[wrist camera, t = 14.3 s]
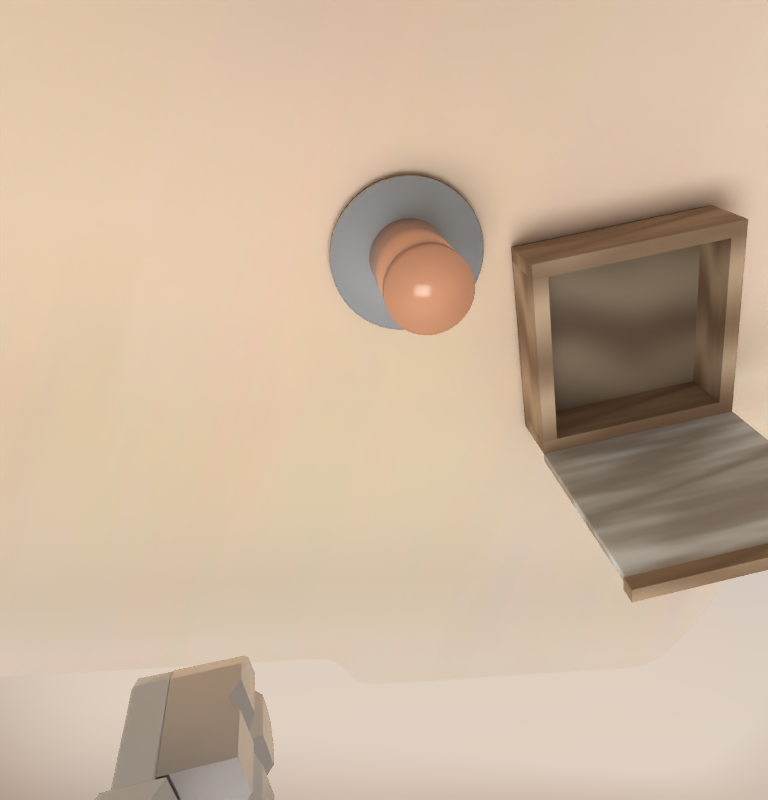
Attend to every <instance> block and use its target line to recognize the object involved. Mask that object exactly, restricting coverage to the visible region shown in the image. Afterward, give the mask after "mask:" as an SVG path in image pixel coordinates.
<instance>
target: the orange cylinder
mask: <svg viewBox="0 0 768 800" xmlns="http://www.w3.org/2000/svg"><path fill="white" fill-rule="evenodd" d="M369 262H370V268H371V271H372V274H373V276H374V278H375V280H376V283H377V285H378V287H379V289H380V291H381V294H382V296H383V298H384V302H385V304H386V307H387V309H388V311H389V313H390V315H391V317H392V318H393V319H394V321H395V322H396V323H397V324H398V325H399V326H401V327H402V328H403V329H405V330H407V331H409V332H412V333H415V334H419V335H434V334H438V333H442V332H444V331H447V330H449V329H450V328H452V327H454V326H455V325H456V324H458V323H459V322H460V321H461V320H462V319H463V318H464V317H465V315H466V314H467V312H468V311H469V309H470V307H471V305H472V302H473V299H474V294H475V281H474V276H473V273H472V271H471V269H470V267H469V265H468V264H467V262H466V261H465V260H464V259H463V258H462V257H461V256H460V255H459V254H458V253H457V252H456V251H455V250H454V249H453V248H452V247H451V246H450V245H449V243H448V242H447V241H446V240H445V239H444V238H443V237H442V236H441V234H440V233H439V232H438V231H437V230H436V229H435V228H434V227H433V226H432V225H430V224H429V223H427V222H425V221H422V220H419V219H413V218H406V219H400V220H397V221H394V222H392V223H390V224H389V225H387V226H386V227H384V228H383V229H382V230H381V231H380V232H379V233H378V235H377V236H376V238H375V239H374V241H373V243H372V246H371V249H370V255H369Z"/></svg>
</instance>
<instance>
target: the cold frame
mask: <svg viewBox="0 0 768 800" xmlns="http://www.w3.org/2000/svg"><path fill="white" fill-rule="evenodd" d="M747 225H748V219H746V218H744V217H741V216H738V215H736V214H733V213H731V212H728V211H725V210H723V209H720V208H718V207H715V206H707V207H702V208H698V209H693V210H688V211H683V212H679V213H674V214H669V215H664V216H660V217H655V218H650V219H645V220H640V221H636V222H631V223H626V224H621V225H617V226H612V227H607V228H602V229H598V230H593V231H588V232H583V233H579V234H574V235H569V236H564V237H560V238H555V239H550V240H545V241H540V242H536V243H531V244H526V245H521V246H517V247H512V260H513V273H514V285H515V298H516V310H517V323H518V335H519V348H520V360H521V373H522V385H523V398H524V411H525V423H526V427H527V429H528V430H529V432H530V433H531V435H532V436H533V438H534V439H535V441H536V442H537V444H538V445H539V447H540V448H541V450H542V451H543V453H544V459H545V462H546V464H547V465H548V467H549V468H550V470H551V471H552V473H553V474H554V476H555V477H556V479H557V481H558V482H559V484H560V485H561V487H562V488H563V490H564V491H565V493H566V494H567V496H568V497H569V499H570V500H571V502H572V503H573V505H574V506H575V508H576V509H577V511H578V513H579V514H580V516H581V517H582V519H583V520H584V522H585V523H586V525H587V526H588V528H589V529H590V531H591V532H592V534H593V535H594V537H595V538H596V540H597V541H598V543H599V545H600V546H601V548H602V549H603V551H604V552H605V554H606V555H607V557H608V558H609V560H610V561H611V563H612V564H613V566H614V567H615V569H616V570H617V572H618V573H619V575H620V577H621V578H622V580H623V581H624V591H625V592H626V594H627V595H628V597H629V599H630V600H631V602H636V601H640V600H644V599H648V598H652V597H656V596H661V595H665V594H669V593H673V592H677V591H681V590H686V589H690V588H694V587H698V586H702V585H706V584H711V583H715V582H719V581H723V580H727V579H731V578H735V577H739V576H744V575H748V574H752V573H756V572H760V571H765V570H768V440H767V439H765V438H764V437H763V436H762V435H761V434H759V433H758V432H757V431H756V430H754V429H753V428H752V427H751V426H749V425H748V424H747V423H746V422H744V421H743V420H742V419H741V418H739V417H738V416H737V415H736V414H735V413H733V412H732V403H733V391H734V379H735V367H736V356H737V344H738V332H739V320H740V308H741V296H742V284H743V272H744V260H745V248H746V237H747Z"/></svg>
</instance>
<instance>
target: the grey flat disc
mask: <svg viewBox="0 0 768 800" xmlns="http://www.w3.org/2000/svg"><path fill="white" fill-rule="evenodd" d="M406 218H413V219H419V220H422V221H425V222H427V223H429V224H430V225H432V226H433V227H434V228H435V229H436V230H437V231H438V232H439V233H440V234H441V236H442V237H443V238H444V239H445V240H446V241H447V242H448V243H449V245H450V246H451V247H452V248H453V249H454V250H455V251H456V252H457V253H458V254H459V255H460V256H461V257H462V258H463V259H464V260H465V261H466V262H467V264H468V265H469V267H470V269H471V271H472V273H473V276H474V281H475V283H476V281H477V279H478V276H479V274H480V271H481V266H482V262H483V253H484V248H483V237H482V231H481V228H480V225H479V222H478V220H477V217H476V215H475V213H474V212H473V210H472V209H471V207H470V205H469V204H468V203H467V202H466V201H465V200H464V198H463V197H462V196H460V195H459V194H458V193H457V192H456V191H455V190H453V189H452V188H450V187H449V186H447V185H446V184H444V183H442V182H440V181H437V180H435V179H432V178H428V177H424V176H417V175H402V176H395V177H391V178H387V179H384V180H381V181H379V182H377V183H374V184H373V185H371V186H369V187H368V188H366V189H364V190H363V191H362V192H361V193H359V194H358V195H357V196H356V197H355V198H354V199H353V200H352V201H351V202H350V203H349V204H348V205H347V207H346V208H345V209H344V211H343V212H342V214H341V216H340V217H339V219H338V221H337V223H336V226H335V228H334V231H333V235H332V239H331V244H330V266H331V271H332V275H333V279H334V282H335V285H336V287H337V289H338V291H339V293H340V295H341V296H342V298H343V300H344V301H345V302H346V303H347V305H348V306H349V307H350V308H351V309H352V310H353V311H354V312H355V313H356V314H358V315H359V316H361V317H362V318H363V319H365V320H367V321H369V322H371V323H373V324H375V325H378V326H381V327H385V328H389V329H397V330H405V329H403V328H402V327H401V326H399V325H398V324H397V323H396V322H395V321H394V319H393V318H392V317H391V315H390V313H389V311H388V309H387V307H386V304H385V302H384V298H383V296H382V294H381V291H380V289H379V287H378V285H377V283H376V280H375V278H374V276H373V274H372V271H371V268H370V262H369V255H370V249H371V246H372V243H373V241H374V239H375V238H376V236H377V235H378V233H379V232H380V231H381V230H382V229H383V228H384V227H386V226H387V225H389V224H390V223H392V222H394V221H397V220H400V219H406Z"/></svg>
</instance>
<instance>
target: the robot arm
mask: <svg viewBox="0 0 768 800" xmlns="http://www.w3.org/2000/svg"><path fill="white" fill-rule="evenodd" d="M273 765H274V752H273V738H272V730H271V722H270V718H269V714H268V710H267V706H266V703H265V700H264V697H263V695H262V694H260V693H258V692H256V691H255V673H254V670H253V668H252V666H251V663H250V661H249V658H248V657H246V656H241V657H236V658H232V659H227V660H222V661H217V662H213V663H208V664H203V665H198V666H193V667H189V668H184V669H179V670H175V671H173V672H168V673H163V674H159V675H154V676H149V677H144V678H140V679H138V680H137V682H136V684H135V685H134V687H133V689H132V692H131V697H130V701H129V706H128V710H127V715H126V720H125V725H124V730H123V734H122V740H121V744H120V749H119V754H118V758H117V763H116V768H115V773H114V778H113V782H112V787H111V790H110V791H106V792H102V793H99V795H98V796H97V797H96V798H95V800H274V794H273V791H272V788H271V786H270V783H269V780H268V778H267V775H268V773H269V771H270V769H271V768H272V766H273Z"/></svg>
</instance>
